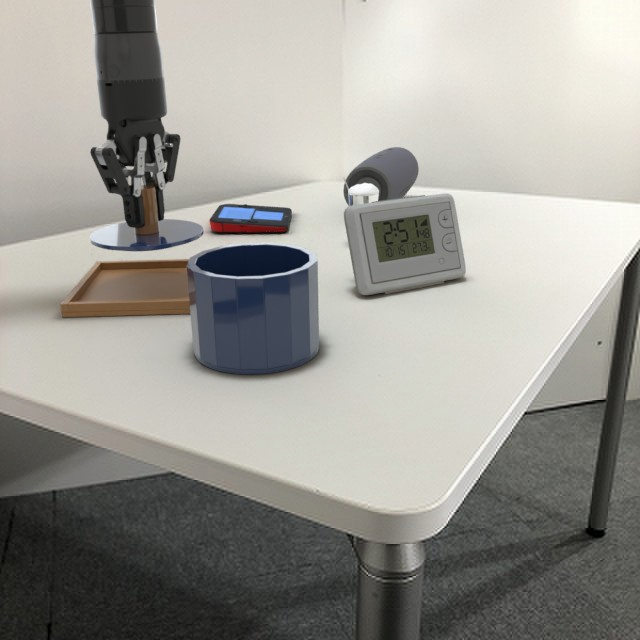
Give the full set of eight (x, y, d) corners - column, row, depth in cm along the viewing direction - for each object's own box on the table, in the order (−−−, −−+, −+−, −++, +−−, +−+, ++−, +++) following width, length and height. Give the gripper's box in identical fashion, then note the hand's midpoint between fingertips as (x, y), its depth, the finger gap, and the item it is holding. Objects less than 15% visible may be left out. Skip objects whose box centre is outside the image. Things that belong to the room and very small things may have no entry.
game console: (287, 234, 124) (287, 220, 123) (207, 235, 124) (206, 221, 123) (292, 213, 137) (292, 201, 137) (220, 214, 138) (219, 202, 137)
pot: (187, 376, 73) (179, 280, 70) (201, 328, 85) (195, 244, 82) (321, 372, 74) (319, 276, 70) (316, 325, 85) (315, 241, 82)
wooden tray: (62, 317, 89) (60, 304, 89) (97, 272, 106) (96, 261, 105) (215, 313, 90) (215, 300, 89) (227, 269, 106) (226, 257, 106)
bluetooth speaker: (373, 195, 151) (373, 143, 148) (420, 197, 149) (422, 144, 145) (339, 221, 131) (339, 161, 128) (393, 224, 128) (394, 163, 125)
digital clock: (355, 300, 93) (355, 212, 89) (333, 279, 101) (332, 198, 97) (479, 287, 97) (483, 202, 93) (448, 267, 105) (451, 189, 101)
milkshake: (348, 239, 120) (348, 174, 117) (381, 241, 118) (382, 176, 115) (339, 246, 116) (338, 179, 113) (373, 249, 114) (374, 181, 111)
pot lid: (78, 257, 89) (70, 200, 87) (104, 229, 102) (98, 178, 99) (197, 253, 89) (192, 196, 87) (209, 225, 102) (205, 175, 100)
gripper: (145, 71, 96) (158, 209, 102) (60, 79, 85) (81, 234, 91) (194, 71, 93) (205, 214, 99) (113, 79, 81) (131, 240, 87)
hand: (145, 222), depth 95 cm, fingers closed on pot lid, 3 cm apart
